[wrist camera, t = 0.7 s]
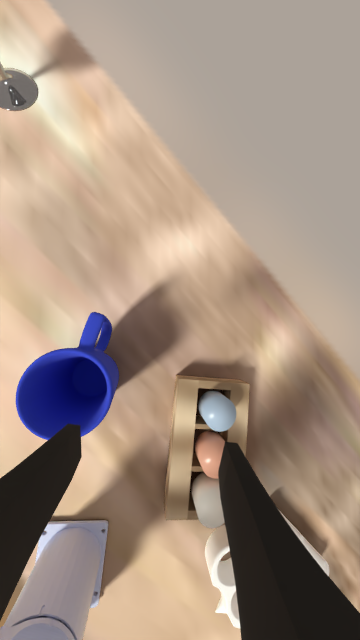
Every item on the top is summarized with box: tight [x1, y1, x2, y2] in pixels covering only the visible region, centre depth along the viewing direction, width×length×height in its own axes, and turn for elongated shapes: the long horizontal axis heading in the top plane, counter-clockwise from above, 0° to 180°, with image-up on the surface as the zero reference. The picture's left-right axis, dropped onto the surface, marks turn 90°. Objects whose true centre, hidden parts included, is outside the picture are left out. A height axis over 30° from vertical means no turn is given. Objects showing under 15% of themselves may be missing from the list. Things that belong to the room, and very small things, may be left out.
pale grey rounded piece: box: [191, 473, 225, 528], centre depth 25 cm, size 4×4×3 cm
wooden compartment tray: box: [164, 375, 250, 520], centre depth 28 cm, size 17×10×3 cm, turn 174°
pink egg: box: [195, 430, 225, 479], centre depth 25 cm, size 4×4×3 cm
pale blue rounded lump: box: [198, 391, 236, 432], centre depth 26 cm, size 4×4×3 cm
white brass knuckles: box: [205, 509, 329, 628], centre depth 28 cm, size 3×18×15 cm
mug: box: [16, 312, 119, 440], centre depth 23 cm, size 8×12×10 cm
